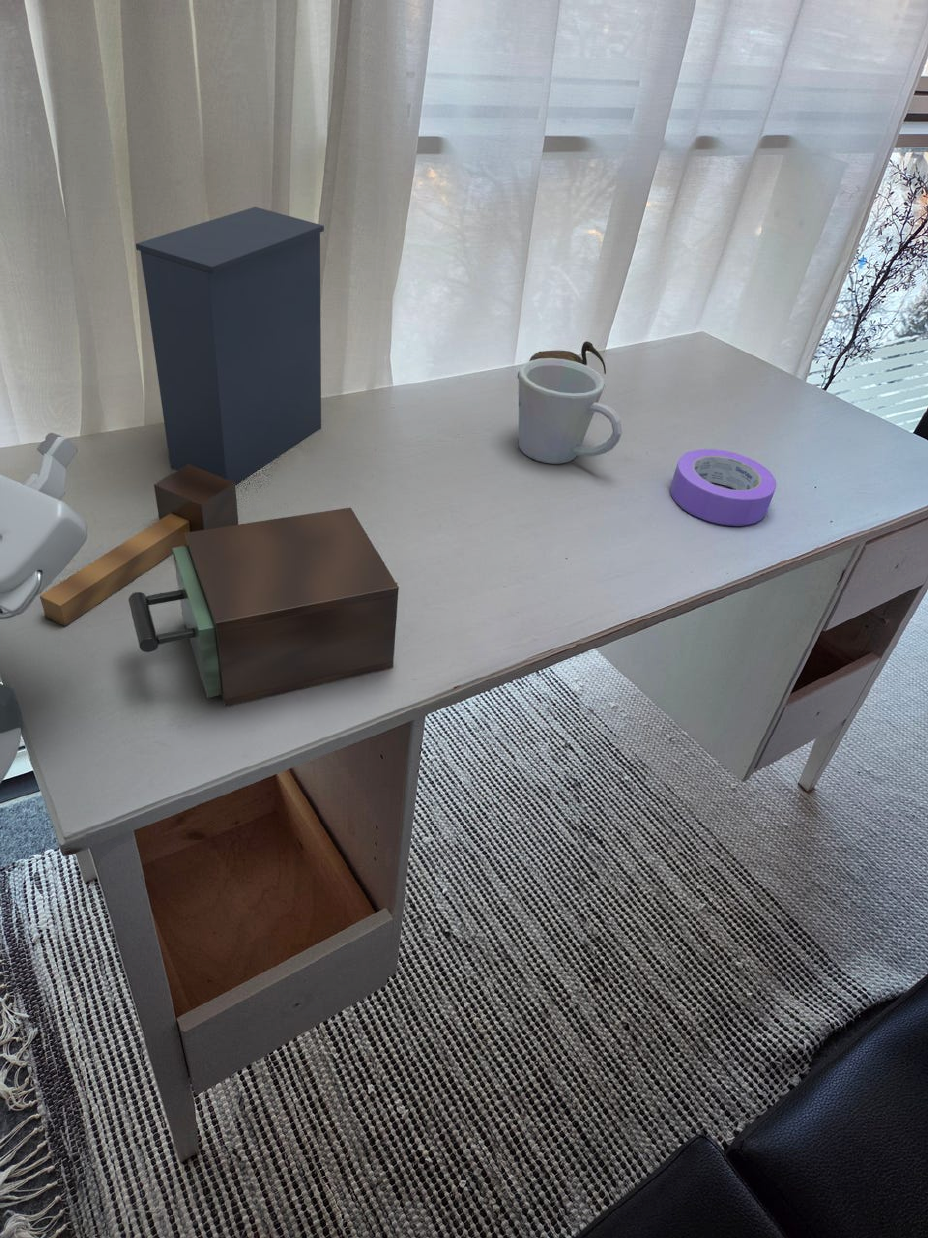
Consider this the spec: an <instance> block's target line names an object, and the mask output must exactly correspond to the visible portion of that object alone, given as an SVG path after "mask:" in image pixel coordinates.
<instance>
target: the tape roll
mask: <svg viewBox="0 0 928 1238" xmlns="http://www.w3.org/2000/svg"><path fill="white" fill-rule="evenodd" d="M716 484H718V485H716ZM719 485H722V486H719ZM724 486H725V487H724ZM726 487H728V488H726ZM776 489H777V480H776V478H775V476H774V475H773V473H772V472H771V471H770V470H769V469H768V468H767V467H765V465H763V464H761V463H760V462H758V461H756V460H754V459H752V458H749V457H748V456H745V455H742V454H739V453H735V452H732V451H728V450H724V449H715V448H714V449H713V448H700V449H694V450H689V451H687V452H685V453H683V454H682V455H681V456H680V457H679V458H678V461H677V463H676V467H675V470H674V474H673V478H672V480H671V483H670V487H669V492H670V496H671V498H672V500H673V501H674V502H675V503H676V504H677V505H678V507H680V508H681V509H682V510H683V511H685V512H687V513H689V514H690V515H692V516H694V517H696V518H698V519H701V520H704V521H706V522H708V523H713V524H718V525H723V526H728V527H729V526H732V527H744V526H749V525H754V524H756V523H758V522H760V521H762V520H763V519H764V518H765V516H766V515H767V512H768V510H769V507H770V504H771V502H772V499H773V496H774V494H775V492H776Z"/></svg>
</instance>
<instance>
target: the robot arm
mask: <svg viewBox="0 0 928 1238" xmlns="http://www.w3.org/2000/svg"><path fill="white" fill-rule="evenodd" d="M36 450H37V451H38V453H39V454H41V455H42V456H43V457H42V462H41V465H40V466H41V467H40V471H39V474H37V473H31V474H30V476H29V477H28V479H27V480H26V481H25V482H24V483H21V482H18V481H17V480H14V479H12V478H9V477H7V476H5V475H2V474H0V620H7V619H8V620H9V619H11V618H14V617H16V616H21V615H23V614H24V613H25V612H26V611H27V610H28V609H29V608H30V606H31V605H32V603H33V602H34V600H36V598H37V597H38V596H40V595H41V594H42V592H44V591H45V589H47V588H48V587H49V585H51V584H52V583H53V582H54V581H55V579H56V578H58V576H59V575H60V574H61V573H62V572H63V570H64V569H65V568H66V567H67V566H68V565H69V564H70V562H71V561H72V560H73V559H74V558H75V556H76V555H77V554H78V553H79V552H80V550H81V549H82V547H83V546H84V545H85V543H86V541H87V540H88V524H87V522H86V520H85V519H84V518H83V517H82V516H81V515H80V514H79V513H78V512H76V511H75V510H74V509H73V508H72V507H71V506H69V505H68V504H67V503H65V502H64V501H62V500H61V499H62V498H63V497H64V495H65V493H66V492H65V491H66V481H67V472H68V470H67V468H68V466H69V465H70V464H71V463H72V461H73V460H74V458H75V457H76V456H77V454H78V447H77V445H75V443H73V442H72V440H71V439H69V438H67V437H65V436H62V435H60V434H57V433H55V432H49V433H47V435H46V436H45V439H44V440H43V441H41V443H40V444H39V445H38V447H37V448H36ZM3 610H5V611H6V612H4V611H3ZM24 729H25V724H24V719H23V714H22V710H21V707H20V704H19V701H18V699H17V697H16V694H15V692H14V689H13V688H11V687H9V686H7V685H5V684H2V683H0V784H2V782H3V781H4V779H5V778H6V776H7V774H8V773H9V771H10V770H11V767H12V765H13V763H14V761H15V759H16V757H17V754H18V751H19V749H20V744H21V740H22V734H23V731H24Z"/></svg>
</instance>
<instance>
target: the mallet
mask: <svg viewBox="0 0 928 1238" xmlns="http://www.w3.org/2000/svg"><path fill="white" fill-rule="evenodd" d="M153 489H154V495H155V501H156V508H157V514H158V515H157V516H158V521H156V522H154V523H153V524H151V525H149V526H148V527H146V528H144V529H143V530H142V531H140V532H138V533H137V534H135V535H133V536H131V538H129V539H128V540H125V541H124V542H122V543H121V544H119V545H118V546H116V547H115V548H113V549H111V550H110V551H108V552H106V553H105V554H103V555H101V556H100V557H99V558H97V559H95V560H94V561H92V562H90V563H89V564H88V565H86V566H84V567H83V568H81V569H79V570H78V571H76V572H75V573H73V574H72V575H70V576H68V577H67V578H65V579H64V580H62V581H60V582H59V583H57V584H56V585H54V586H52V588H49V589H48V590H46V591H45V592H43V593H40V594H39V599H40V602H41V607H42V609H43V613H44V616H45V617H46V618H48V619H50V620H52V621H53V622H56V623H58V624H60V625H62V626H64V627H66V626H68V625H69V624H71V623H73V622H74V621H75V620H77V619H78V618H80V617H81V616H83V615H84V614H86V613H87V612H88V611H90V610H91V609H93V608H95V607H96V606H98V604H100V603H102V602H103V601H105V600H107V598H109V597H111V596H112V595H114V594H115V593H116V592H118V591H120V590H121V589H123V588H124V587H125V586H127V585H129V584H130V583H131V582H133V581H134V580H135V579H137V578H138V577H140V576H142V575H143V574H145V573H146V572H148V571H149V570H151V569H152V568H153V567H155V566H156V565H158V564H159V563H161V562H162V561H164V560H165V559H166V558H168V557H170V556H171V555H173V549H172V548H175V547H181V546H186V539H185V533H187V532H193V531H200V530H206V529H213V528H220V527H226V526H233V525H239V514H238V502H237V490H236V489H237V487H236V485H235V483H234V482H231V481H229V480H227V479H224V478H222V477H219V476H217V475H214V474H212V473H209V472H207V471H205V470H202V469H200V468H197V467H195V466H192V465H190V464H188V465H186V466H185V467H183V468H181V469H179V470H176V471H174V472H172V473H171V474H169V475H168V476H166V477H164V478H162V479H161V480H159V481H157V482H155V483H153Z"/></svg>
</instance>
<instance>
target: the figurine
mask: <svg viewBox="0 0 928 1238" xmlns="http://www.w3.org/2000/svg"><path fill="white" fill-rule="evenodd" d="M587 352H589V353H592V355H594V356H596V357H597V358H598V360H600V362H601V363H602V366H603V373H604V375H606V374H607V370H606V369H607V368H606V363H605V361H604V358H603V357H602V355H601V353H600V352H599V351H598V350H597V349H596V348H595V347H594V345H593V343H591V341H588V340H587V341H584V342H583V343H582V345H581V350H580V355H581V356H580V355H578V354H577V353H575V352H572V351H569V350H545V351H538V352H535V353H534V354H532V355H531V356H530V358H529V360H528V362H529V361H531V360H536V359H541V358H557V359H565V360H570V361H574V362H578V363H581V364H583V365H586V366H588V361H587ZM517 377H518V378H519V371H518V373H517Z"/></svg>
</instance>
